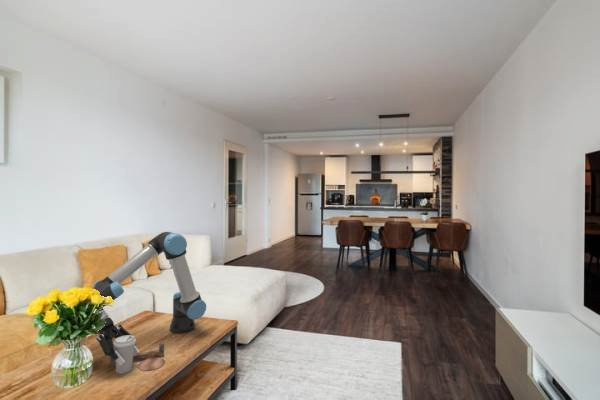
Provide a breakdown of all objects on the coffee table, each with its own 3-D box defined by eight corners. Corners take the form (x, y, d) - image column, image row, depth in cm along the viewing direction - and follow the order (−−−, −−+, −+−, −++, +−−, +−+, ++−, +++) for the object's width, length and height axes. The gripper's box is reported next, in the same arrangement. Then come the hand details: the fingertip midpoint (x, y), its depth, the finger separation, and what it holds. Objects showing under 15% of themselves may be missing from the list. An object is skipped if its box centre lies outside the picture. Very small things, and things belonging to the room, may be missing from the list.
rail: (163, 354, 170) (163, 343, 170) (166, 367, 157) (166, 355, 157) (110, 364, 159) (110, 352, 159) (108, 379, 146) (108, 366, 146)
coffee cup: (125, 376, 148) (126, 343, 148) (107, 374, 150) (108, 341, 150) (139, 366, 157) (140, 335, 158) (122, 364, 159) (123, 333, 160)
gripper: (113, 319, 167) (140, 353, 165) (77, 336, 146) (107, 375, 143) (123, 309, 167) (150, 343, 164) (87, 325, 145) (118, 364, 142)
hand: (130, 358), depth 153 cm, fingers closed on coffee cup, 9 cm apart
